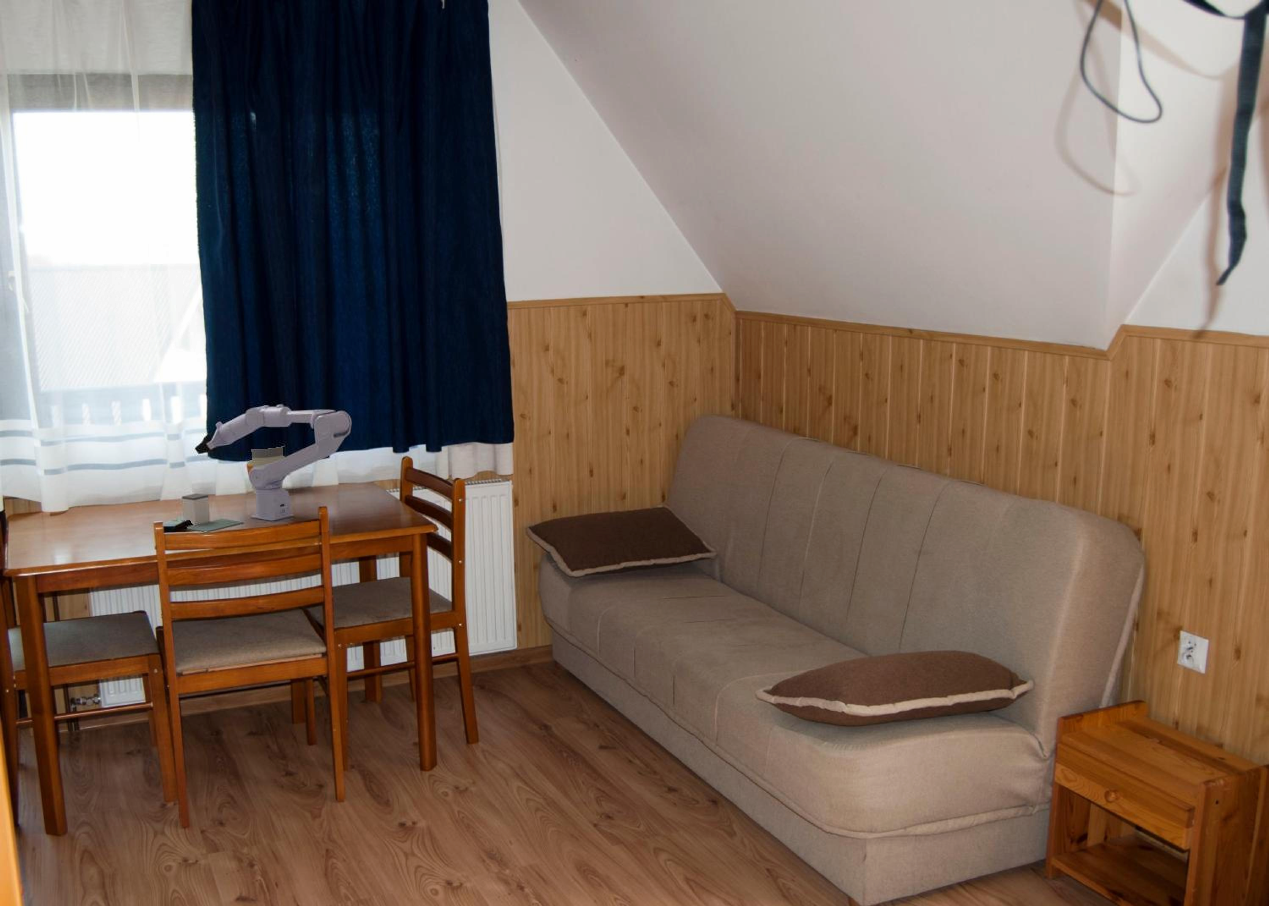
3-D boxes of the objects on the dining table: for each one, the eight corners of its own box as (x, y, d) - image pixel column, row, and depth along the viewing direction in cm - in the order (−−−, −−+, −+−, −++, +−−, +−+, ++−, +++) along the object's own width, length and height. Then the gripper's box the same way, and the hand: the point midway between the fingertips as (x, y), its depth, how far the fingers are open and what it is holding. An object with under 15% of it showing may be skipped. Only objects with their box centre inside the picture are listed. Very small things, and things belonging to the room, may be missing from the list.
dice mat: (243, 523, 330) (243, 522, 330) (205, 532, 320) (205, 531, 319) (222, 519, 335) (222, 518, 335) (184, 528, 324) (184, 527, 324)
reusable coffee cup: (296, 490, 377) (293, 444, 375) (266, 497, 366) (263, 450, 364) (269, 486, 383) (266, 441, 381) (238, 493, 373) (235, 447, 370)
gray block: (210, 522, 332) (208, 495, 331) (195, 525, 328) (193, 498, 327) (198, 520, 335) (196, 493, 333) (184, 523, 330) (181, 496, 329)
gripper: (242, 407, 343) (210, 423, 348) (215, 427, 330) (182, 444, 336) (255, 427, 345) (223, 443, 350) (229, 447, 332) (196, 464, 337)
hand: (204, 445), depth 343 cm, fingers open, 7 cm apart
